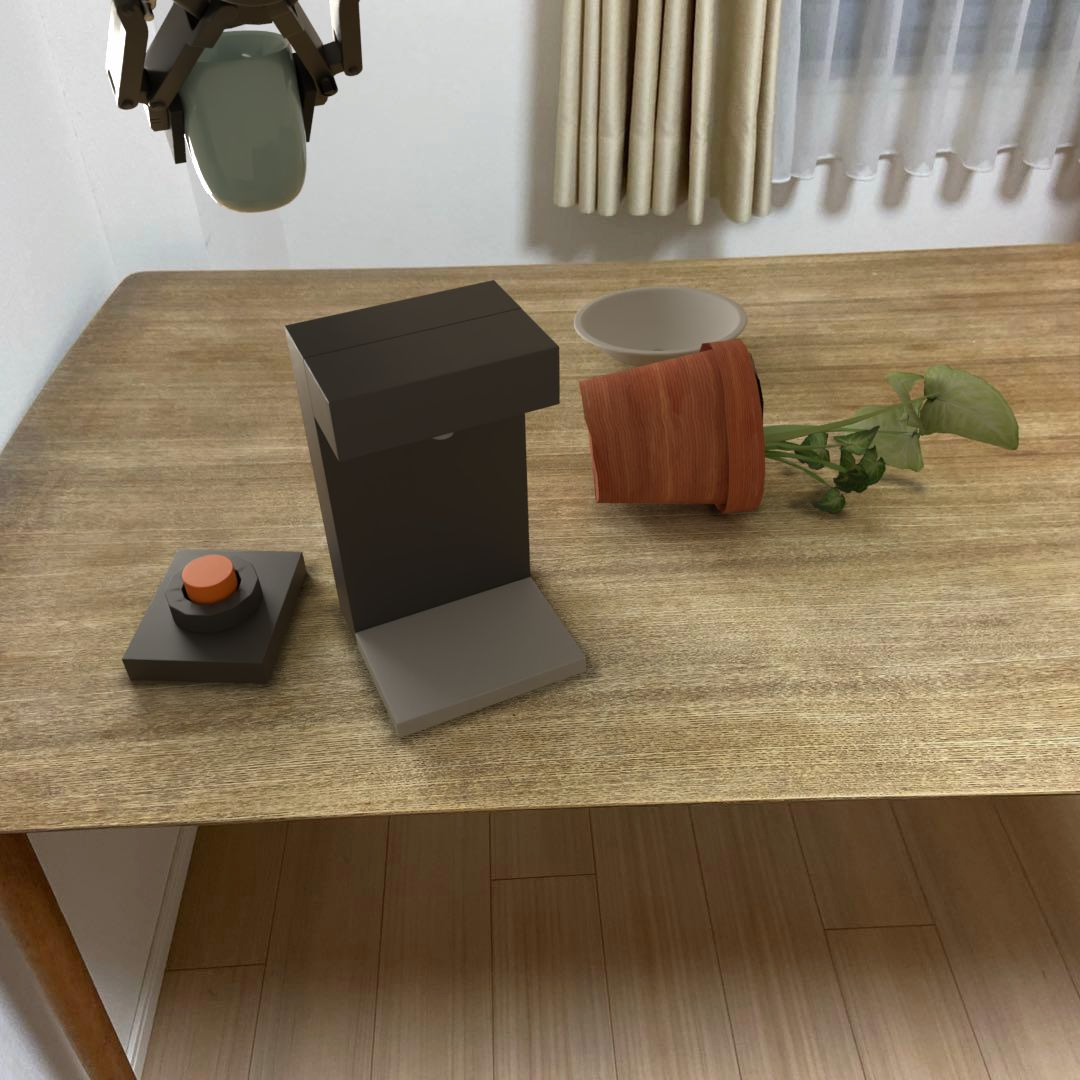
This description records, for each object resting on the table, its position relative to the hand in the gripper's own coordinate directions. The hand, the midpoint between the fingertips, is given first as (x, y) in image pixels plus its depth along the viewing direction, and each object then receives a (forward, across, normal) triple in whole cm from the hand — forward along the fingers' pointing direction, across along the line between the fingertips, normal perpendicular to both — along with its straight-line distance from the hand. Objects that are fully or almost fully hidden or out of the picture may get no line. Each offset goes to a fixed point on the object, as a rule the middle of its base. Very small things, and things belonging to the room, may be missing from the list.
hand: (237, 134), depth 70 cm
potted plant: (+9, +37, -35) cm, 51 cm away
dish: (+26, +38, -18) cm, 50 cm away
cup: (0, 0, -5) cm, 5 cm away
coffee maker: (+5, +5, -38) cm, 39 cm away
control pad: (+12, -10, -31) cm, 35 cm away
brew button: (+10, -11, -29) cm, 32 cm away
